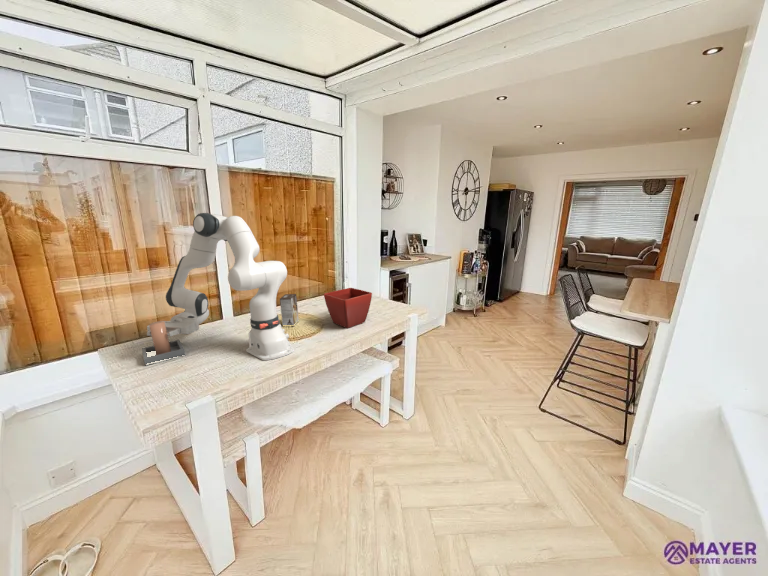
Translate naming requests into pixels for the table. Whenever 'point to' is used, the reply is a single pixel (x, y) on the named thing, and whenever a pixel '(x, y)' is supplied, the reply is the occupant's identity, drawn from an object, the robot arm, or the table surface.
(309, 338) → the table surface
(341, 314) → the plant pot
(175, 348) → the box
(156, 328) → the terracotta jar
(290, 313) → the coffee box
